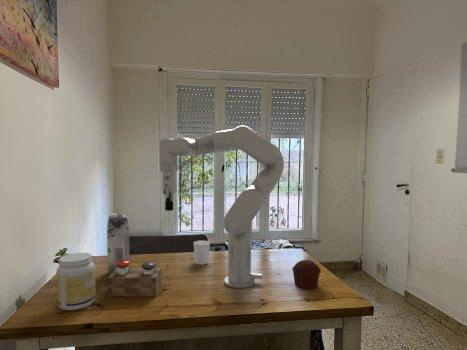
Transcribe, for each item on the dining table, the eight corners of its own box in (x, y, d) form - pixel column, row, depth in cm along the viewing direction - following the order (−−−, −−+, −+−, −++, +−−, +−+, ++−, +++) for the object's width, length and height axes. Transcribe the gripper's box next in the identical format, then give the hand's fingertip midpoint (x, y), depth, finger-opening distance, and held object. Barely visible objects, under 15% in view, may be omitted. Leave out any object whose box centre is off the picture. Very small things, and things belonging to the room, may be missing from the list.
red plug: (131, 284, 129) (131, 259, 129) (128, 289, 124) (127, 263, 124) (118, 284, 129) (118, 259, 129) (114, 289, 124) (113, 264, 123)
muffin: (311, 293, 124) (311, 268, 123) (286, 286, 131) (286, 261, 131) (325, 284, 133) (326, 260, 132) (301, 277, 140) (302, 255, 140)
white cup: (209, 265, 156) (209, 244, 155) (192, 265, 156) (192, 244, 156) (210, 260, 164) (210, 240, 163) (194, 259, 164) (194, 240, 163)
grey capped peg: (156, 286, 130) (156, 261, 129) (154, 291, 125) (154, 265, 124) (143, 286, 130) (143, 261, 129) (140, 291, 124) (140, 266, 124)
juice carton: (129, 268, 151) (128, 211, 149) (129, 276, 141) (128, 215, 139) (109, 270, 148) (107, 212, 146) (107, 279, 138) (106, 216, 136)
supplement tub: (102, 297, 120) (101, 253, 119) (80, 313, 108) (78, 263, 107) (74, 294, 123) (73, 250, 122) (49, 309, 111) (47, 260, 110)
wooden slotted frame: (117, 284, 133) (117, 267, 132) (161, 283, 133) (161, 266, 133) (107, 296, 121) (107, 278, 120) (156, 296, 121) (156, 277, 121)
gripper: (175, 168, 131) (175, 213, 132) (179, 167, 146) (180, 207, 147) (156, 168, 131) (157, 213, 132) (163, 167, 146) (163, 207, 147)
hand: (169, 210), depth 140 cm, fingers closed
